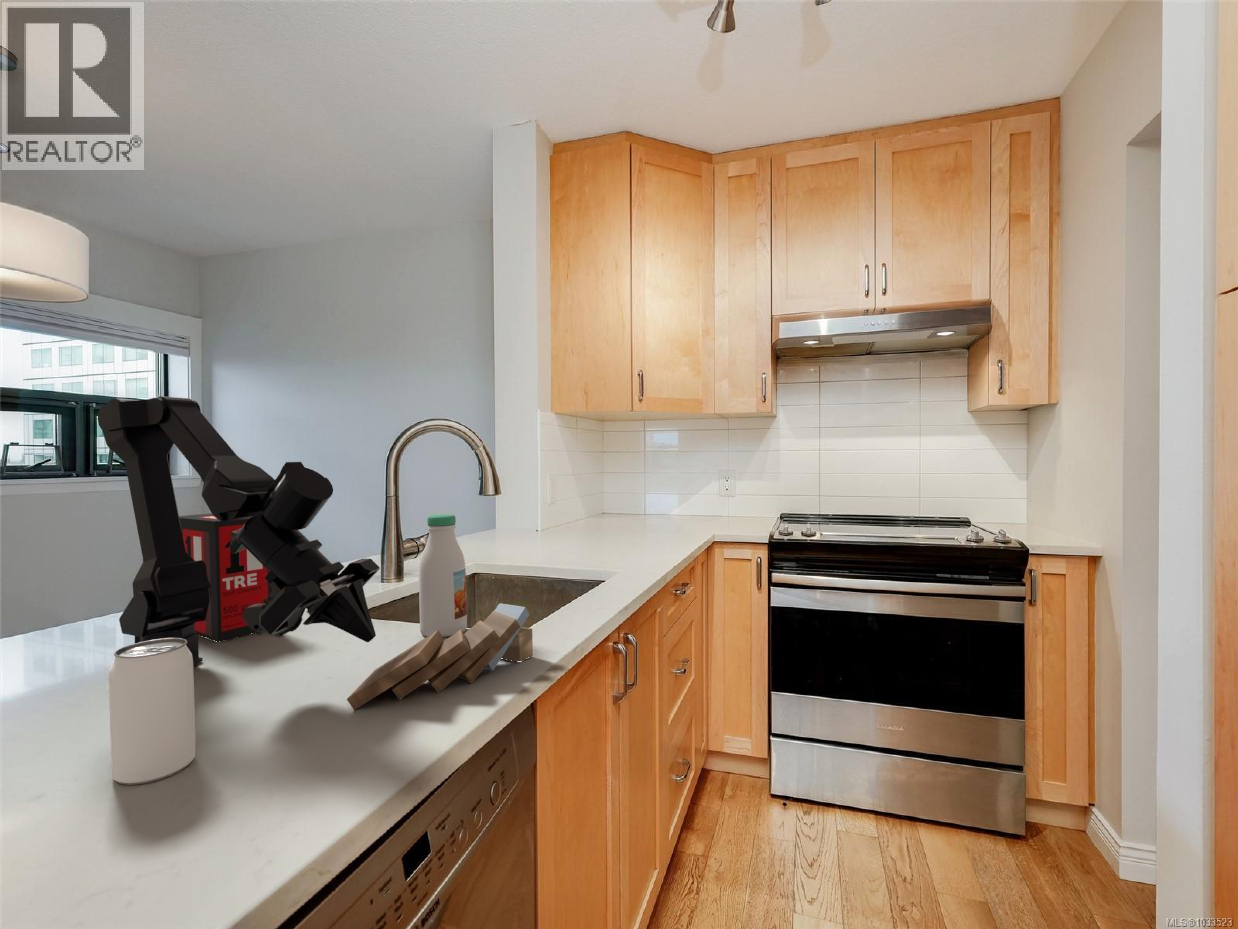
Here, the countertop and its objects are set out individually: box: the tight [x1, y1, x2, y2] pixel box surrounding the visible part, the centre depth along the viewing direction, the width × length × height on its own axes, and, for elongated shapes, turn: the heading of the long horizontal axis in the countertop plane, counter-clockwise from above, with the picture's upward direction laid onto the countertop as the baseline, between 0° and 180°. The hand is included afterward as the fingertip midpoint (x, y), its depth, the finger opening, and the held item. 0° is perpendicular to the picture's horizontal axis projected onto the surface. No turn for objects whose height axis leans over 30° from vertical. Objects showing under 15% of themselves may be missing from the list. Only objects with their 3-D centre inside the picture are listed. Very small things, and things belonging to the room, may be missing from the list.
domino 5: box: [483, 602, 530, 672], centre depth 86 cm, size 2×5×10 cm
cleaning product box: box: [179, 512, 272, 643], centre depth 105 cm, size 16×9×20 cm, turn 58°
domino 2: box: [392, 630, 469, 700], centre depth 77 cm, size 2×5×10 cm
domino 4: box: [457, 610, 520, 684], centre depth 83 cm, size 2×5×10 cm
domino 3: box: [427, 619, 500, 694], centre depth 79 cm, size 2×5×10 cm
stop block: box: [502, 626, 534, 662], centre depth 89 cm, size 3×6×4 cm, turn 60°
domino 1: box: [346, 630, 446, 711], centre depth 76 cm, size 2×10×10 cm
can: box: [108, 638, 196, 786], centre depth 58 cm, size 6×6×12 cm
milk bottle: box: [418, 514, 468, 638], centre depth 101 cm, size 8×8×20 cm
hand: (372, 639), depth 75 cm, fingers closed
